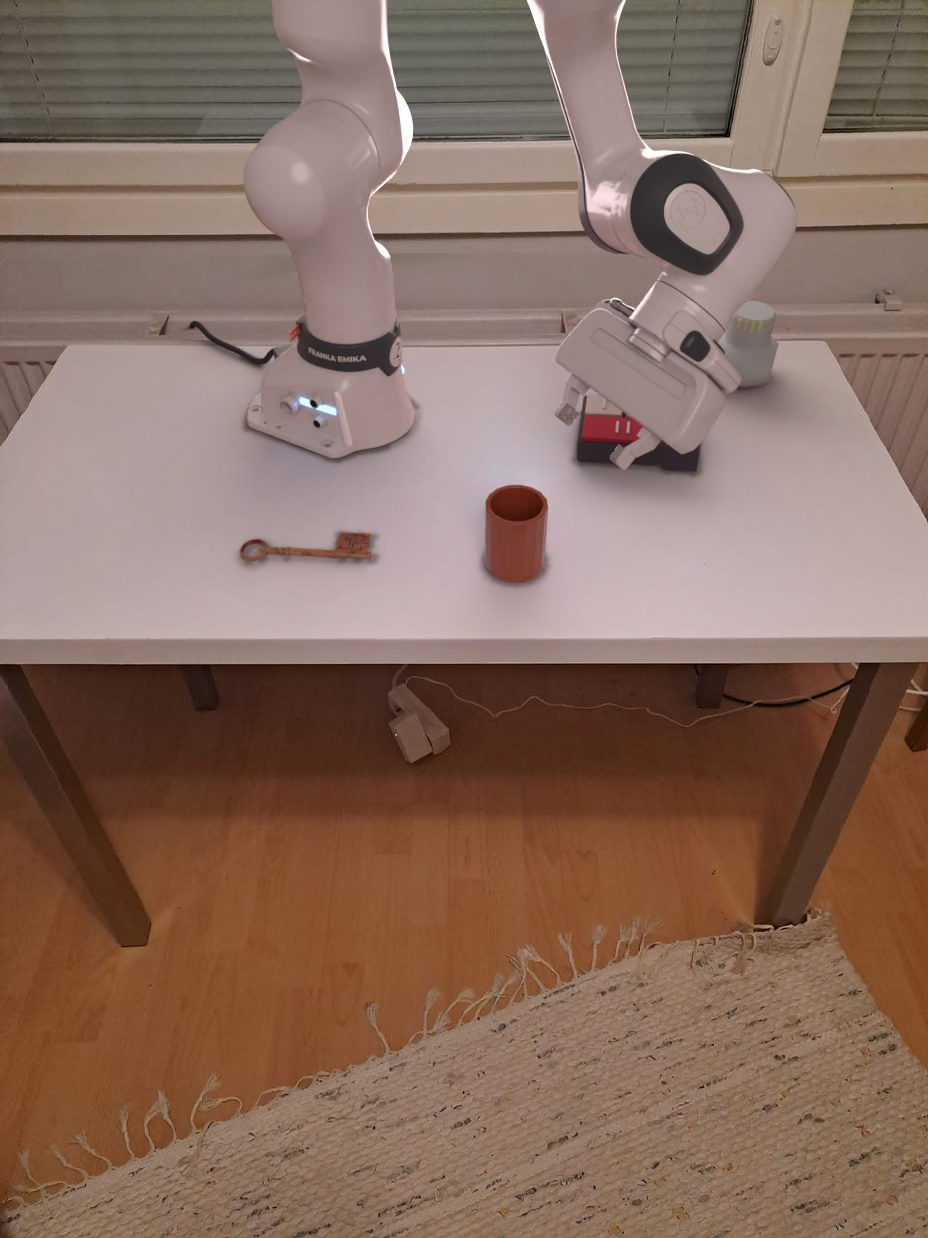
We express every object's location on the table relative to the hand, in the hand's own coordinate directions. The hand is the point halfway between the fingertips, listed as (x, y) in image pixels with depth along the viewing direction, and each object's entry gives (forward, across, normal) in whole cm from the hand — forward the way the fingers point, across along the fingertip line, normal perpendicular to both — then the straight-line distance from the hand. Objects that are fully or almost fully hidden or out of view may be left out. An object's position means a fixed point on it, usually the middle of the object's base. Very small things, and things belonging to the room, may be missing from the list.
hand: (588, 442), depth 97 cm
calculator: (-3, -10, +21) cm, 24 cm away
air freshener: (-19, -14, +37) cm, 44 cm away
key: (+29, -15, -11) cm, 34 cm away
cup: (+15, 0, +2) cm, 16 cm away
